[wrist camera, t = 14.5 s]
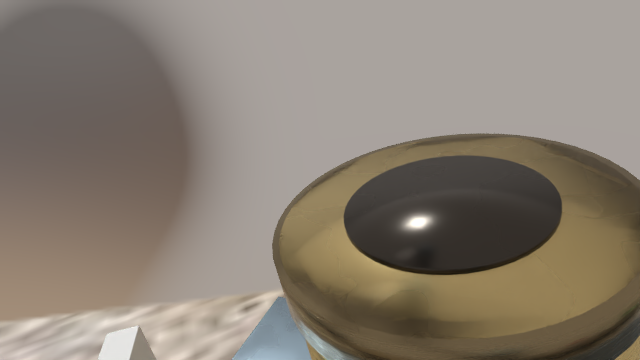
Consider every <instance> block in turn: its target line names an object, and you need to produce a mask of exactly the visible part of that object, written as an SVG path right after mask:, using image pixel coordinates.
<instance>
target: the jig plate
mask: <svg viewBox="0 0 640 360" xmlns="http://www.w3.org/2000/svg"><path fill="white" fill-rule="evenodd" d="M232 360H312V359H311V356H310V353H309V349H308V346H307V343H306V340H305V338H304V336H303V335H302V334H301V333H300V331H299V330H298V328H297V326H296V324H295V322H294V320H293V319H292V317H291V314H290V311H289V308H288V304H287V301H286V298H283V297H278V298H277V299H276V301H275V302H274V303H273V305H272V306H271V308H270V309H269V310H268V312H267V313H266V314H265V316H264V317H263V318H262V320H261V321H260V322H259V324H258V325H257V326H256V328H255V329H254V330H253V332H252V333H251V334H250V336H249V337H248V338H247V340H246V341H245V342H244V344H243V345H242V346H241V348H240V349H239V350H238V352H237V353H236V354H235V356H234V357H233V358H232Z"/></svg>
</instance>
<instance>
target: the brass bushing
mask: <svg viewBox="0 0 640 360" xmlns="http://www.w3.org/2000/svg"><path fill="white" fill-rule="evenodd" d="M272 248H273V259H274V263H275V266H276V269H277V273H278V276H279V279H280V282H281V285H282V288H283V292H284V295H285V298H286V301H287V304H288V308H289V311H290V314H291V317H292V319H293V320H294V322H295V324H296V326H297V328H298V330H299V331H300V333H301V334H302V335H303V336H304V338H305V340H306V343H307V346H308V349H309V353H310V356H311V359H312V360H640V180H638V179H637V178H636V177H635V176H633V175H632V174H631V173H629V172H628V171H627V170H625V169H624V168H622V167H620V166H619V165H617V164H615V163H613V162H612V161H610V160H608V159H606V158H603V157H601V156H599V155H597V154H595V153H592V152H589V151H587V150H583V149H581V148H578V147H575V146H571V145H567V144H564V143H560V142H556V141H551V140H546V139H541V138H534V137H527V136H520V135H507V134H506V135H505V134H458V135H447V136H439V137H431V138H425V139H419V140H413V141H408V142H404V143H400V144H396V145H392V146H388V147H385V148H382V149H378V150H375V151H372V152H369V153H367V154H364V155H361V156H359V157H356V158H354V159H352V160H350V161H347V162H345V163H343V164H341V165H339V166H337V167H336V168H334V169H332V170H330V171H328V172H327V173H325V174H324V175H322V176H320V177H319V178H317V179H316V180H315V181H313V182H312V183H311V184H309V185H308V186H307V187H306V188H304V189H303V190H302V191H301V192H300V193H299V194H298V195H297V196H296V197H295V198H294V199H293V200H292V202H291V203H290V204H289V205H288V207H287V208H286V209H285V211H284V213H283V214H282V216H281V218H280V220H279V221H278V224H277V227H276V230H275V233H274V238H273V244H272Z"/></svg>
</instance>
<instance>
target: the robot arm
mask: <svg viewBox="0 0 640 360" xmlns="http://www.w3.org/2000/svg"><path fill="white" fill-rule="evenodd" d="M98 360H156V358H155V356H154V354H153V352H152V350H151V348H150V346H149V344H148V342H147V340H146V338H145V336H144V334H143V332H142V330H141V328H140V326H139V325H138V326H134V327H130V328H127V329H123V330H119V331H115V332H112V333H108V334H107V335H106V338H105V340H104V343H103V346H102V349H101V352H100V354H99V357H98Z"/></svg>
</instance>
